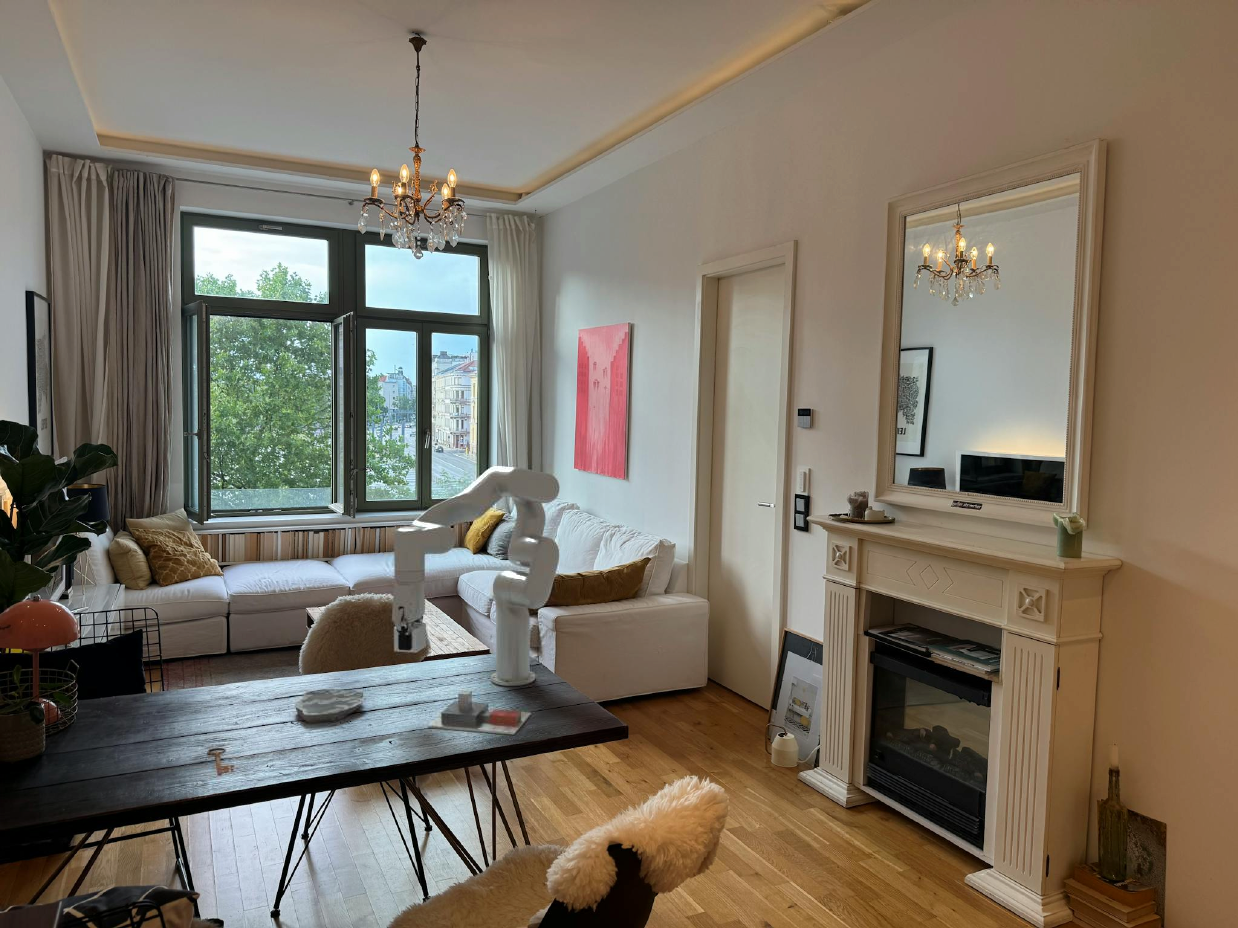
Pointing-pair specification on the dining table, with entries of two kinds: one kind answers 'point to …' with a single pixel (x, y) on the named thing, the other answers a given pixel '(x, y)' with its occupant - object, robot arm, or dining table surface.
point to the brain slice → (328, 704)
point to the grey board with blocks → (478, 717)
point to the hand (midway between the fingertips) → (410, 645)
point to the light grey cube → (413, 637)
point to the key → (218, 764)
